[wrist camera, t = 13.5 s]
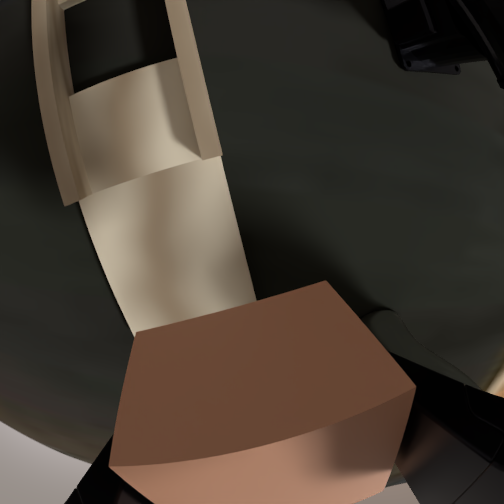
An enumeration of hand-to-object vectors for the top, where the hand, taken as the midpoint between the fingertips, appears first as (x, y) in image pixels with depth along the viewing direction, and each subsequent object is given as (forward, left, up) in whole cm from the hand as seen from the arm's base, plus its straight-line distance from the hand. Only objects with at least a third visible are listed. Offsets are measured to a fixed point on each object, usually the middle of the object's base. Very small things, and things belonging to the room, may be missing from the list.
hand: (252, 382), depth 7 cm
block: (0, +1, -1) cm, 1 cm away
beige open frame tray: (+3, -9, -12) cm, 15 cm away
